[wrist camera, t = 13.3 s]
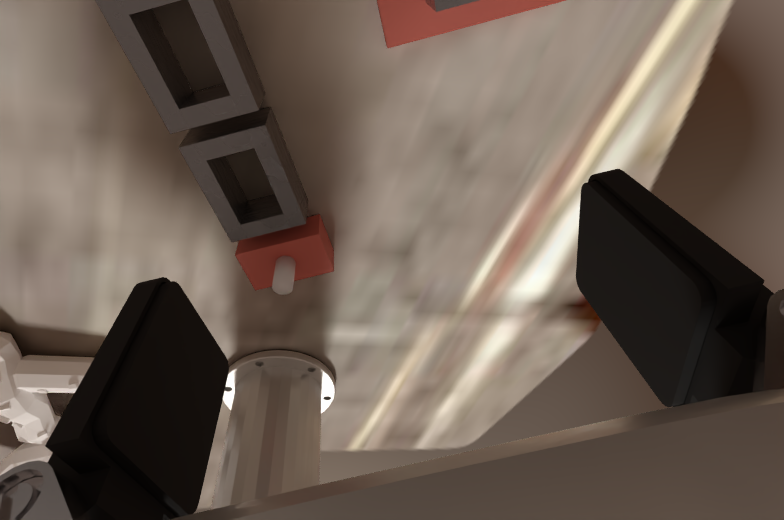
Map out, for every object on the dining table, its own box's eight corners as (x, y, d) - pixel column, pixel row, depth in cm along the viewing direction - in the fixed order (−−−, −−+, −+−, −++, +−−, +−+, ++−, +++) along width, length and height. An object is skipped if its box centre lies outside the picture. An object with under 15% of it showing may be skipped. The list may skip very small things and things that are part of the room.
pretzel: (-46, 298, 41) (-96, 346, 35) (216, 358, 50) (208, 403, 45) (-72, 481, 51) (-114, 539, 46) (148, 501, 61) (135, 551, 56)
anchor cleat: (333, 250, 40) (333, 295, 35) (259, 268, 40) (250, 315, 36) (319, 214, 38) (317, 256, 33) (241, 233, 38) (228, 278, 33)
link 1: (265, 93, 31) (258, 110, 28) (184, 114, 31) (170, 133, 29) (212, -41, 26) (197, -36, 23) (116, -14, 26) (91, -6, 24)
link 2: (308, 200, 37) (306, 223, 34) (239, 218, 37) (231, 242, 34) (270, 107, 32) (265, 125, 29) (191, 128, 32) (178, 147, 29)
